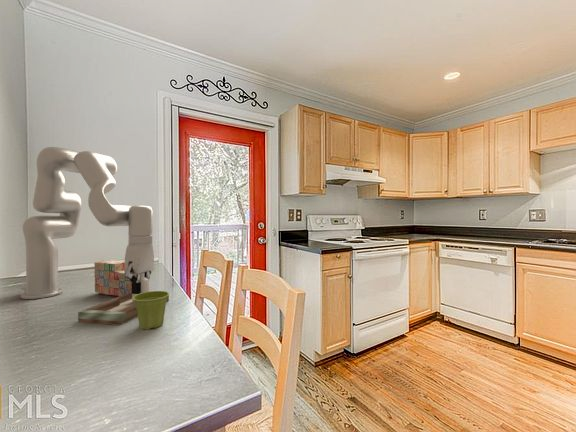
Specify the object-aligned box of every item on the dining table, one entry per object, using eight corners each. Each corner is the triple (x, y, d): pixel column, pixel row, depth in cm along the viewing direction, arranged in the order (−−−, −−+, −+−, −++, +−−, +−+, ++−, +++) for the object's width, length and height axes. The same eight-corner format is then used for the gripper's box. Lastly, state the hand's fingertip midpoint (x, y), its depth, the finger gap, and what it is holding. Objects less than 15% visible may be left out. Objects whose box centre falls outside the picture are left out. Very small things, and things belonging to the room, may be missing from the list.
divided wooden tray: (78, 322, 82) (78, 311, 82) (134, 298, 106) (134, 290, 106) (120, 324, 80) (120, 314, 80) (168, 300, 104) (168, 292, 104)
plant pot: (155, 333, 74) (155, 300, 74) (124, 330, 76) (124, 298, 76) (175, 320, 83) (175, 291, 84) (148, 318, 85) (148, 290, 85)
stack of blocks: (144, 294, 109) (144, 262, 109) (129, 298, 103) (129, 265, 103) (109, 288, 118) (109, 259, 118) (94, 292, 112) (94, 261, 112)
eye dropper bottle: (144, 297, 103) (144, 265, 103) (149, 301, 99) (150, 267, 99) (131, 300, 100) (131, 266, 100) (136, 303, 96) (136, 268, 96)
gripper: (146, 238, 108) (145, 286, 108) (113, 242, 92) (112, 298, 92) (164, 238, 107) (163, 286, 107) (133, 242, 90) (133, 299, 90)
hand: (140, 291), depth 99 cm, fingers closed on eye dropper bottle, 3 cm apart
